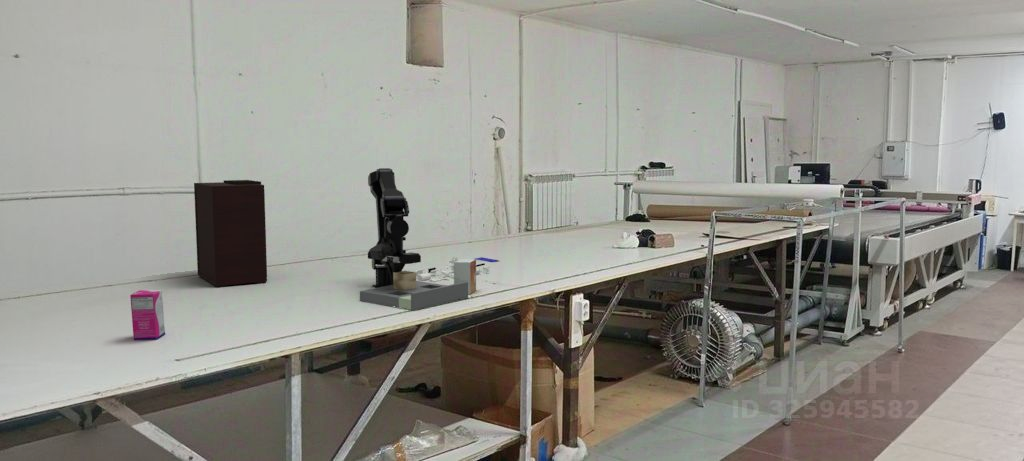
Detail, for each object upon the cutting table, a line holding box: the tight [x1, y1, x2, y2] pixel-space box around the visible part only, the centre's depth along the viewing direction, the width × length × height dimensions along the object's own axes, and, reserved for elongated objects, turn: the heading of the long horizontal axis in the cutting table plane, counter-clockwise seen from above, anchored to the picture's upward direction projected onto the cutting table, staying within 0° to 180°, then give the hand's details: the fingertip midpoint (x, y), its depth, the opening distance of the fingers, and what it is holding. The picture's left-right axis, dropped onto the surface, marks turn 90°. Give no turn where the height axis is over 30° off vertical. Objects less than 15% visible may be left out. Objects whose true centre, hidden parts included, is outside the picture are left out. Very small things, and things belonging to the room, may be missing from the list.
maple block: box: [393, 270, 417, 290], centre depth 241 cm, size 5×5×5 cm
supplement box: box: [129, 289, 166, 341], centre depth 190 cm, size 6×6×12 cm
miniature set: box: [414, 256, 490, 283], centre depth 283 cm, size 6×35×12 cm
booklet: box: [450, 256, 500, 264], centre depth 317 cm, size 12×25×1 cm, turn 130°
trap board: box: [359, 280, 469, 311], centre depth 239 cm, size 23×24×5 cm
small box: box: [453, 258, 477, 295], centre depth 251 cm, size 8×6×10 cm
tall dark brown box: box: [193, 179, 268, 288], centre depth 272 cm, size 19×27×35 cm
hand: (394, 283), depth 244 cm, fingers closed
